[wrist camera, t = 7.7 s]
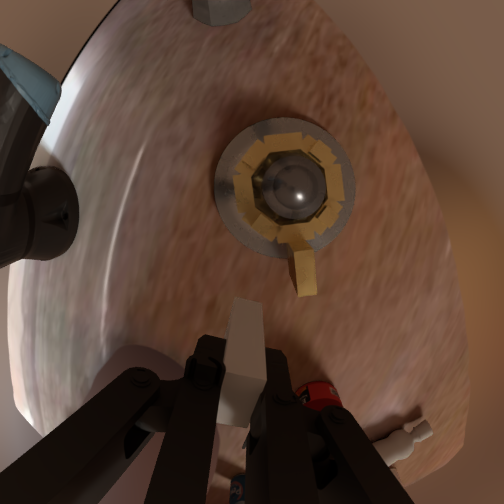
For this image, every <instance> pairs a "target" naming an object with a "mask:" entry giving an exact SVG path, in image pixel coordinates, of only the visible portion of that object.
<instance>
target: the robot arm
mask: <svg viewBox="0 0 504 504" xmlns="http://www.w3.org/2000/svg"><path fill="white" fill-rule="evenodd" d="M61 93H62V89H61V85H60V83H59V81H58V80H57V79H56V78H54V77H53V76H52V75H51V74H49V73H48V72H47V71H45V70H44V69H42V68H41V67H39V66H38V65H36V64H35V63H33V62H32V61H30V60H29V59H27V58H25V57H24V56H22V55H20V54H19V53H17V52H14V51H13V50H11V49H9V48H8V47H6V46H5V45H2V44H0V268H2V267H5V266H7V265H9V264H11V263H14V262H16V261H18V260H21V259H32V260H41V261H47V260H51V259H54V258H56V257H58V256H60V255H62V254H64V253H65V252H66V251H67V250H68V249H69V247H70V246H71V244H72V243H73V241H74V238H75V236H76V233H77V229H78V223H79V204H78V198H77V194H76V191H75V188H74V186H73V184H72V182H71V180H70V179H69V177H68V176H67V175H66V174H65V173H64V172H63V171H62V170H60V169H58V168H56V167H51V166H40V167H36V168H33V169H31V170H29V168H30V165H31V163H32V160H33V157H34V155H35V152H36V150H37V147H38V145H39V143H40V141H41V138H42V136H43V134H44V132H45V130H46V128H47V126H49V124H50V119H51V117H52V114H53V112H54V110H55V108H56V105H57V103H58V101H59V99H60V97H61ZM287 365H288V364H287V358H286V356H285V355H284V354H283V352H282V351H281V350H276V349H271V348H266V347H265V343H264V327H263V312H262V303H259V302H255V301H251V300H247V299H242V298H238V297H235V299H234V302H233V306H232V310H231V314H230V318H229V322H228V325H227V329H226V333H225V337H224V339H222V338H218V337H214V336H210V335H206V334H205V335H203V336H202V337H201V338H199V339H198V342H197V345H196V348H195V351H194V354H193V355H192V356H190V357H189V358H188V359H187V361H186V366H185V373H184V377H183V378H180V379H178V380H172V381H166V380H160V379H159V377H158V376H157V374H156V373H154V372H153V371H151V370H149V369H146V368H141V367H133V368H129V369H127V370H125V371H124V372H123V373H122V374H120V375H119V376H118V377H117V378H116V379H114V380H113V381H112V382H111V383H110V384H108V385H107V386H106V387H105V388H104V389H102V390H101V391H100V392H99V393H98V394H96V395H95V396H94V397H93V398H91V399H90V400H89V401H88V402H87V403H85V404H84V405H83V406H82V407H81V408H79V409H78V410H77V411H76V412H75V413H73V414H72V415H71V416H70V417H68V418H67V419H66V420H65V421H64V422H62V423H61V424H60V425H59V426H58V427H56V428H55V429H54V430H53V431H51V432H50V433H49V434H48V435H47V436H45V437H44V438H43V439H42V440H40V441H39V442H38V443H37V444H35V445H34V446H33V447H32V448H31V449H29V450H28V451H27V452H26V453H24V454H23V455H22V456H21V457H20V458H18V459H17V460H16V461H15V462H13V463H12V464H11V465H10V466H8V467H7V468H6V469H5V470H3V471H2V472H1V473H0V504H98V503H99V502H100V500H101V499H102V498H103V497H104V496H105V494H106V493H107V492H108V491H109V490H110V489H111V487H112V486H113V485H114V484H115V483H116V481H117V480H118V479H119V478H120V477H121V475H122V474H123V473H124V472H125V470H126V469H127V468H128V467H129V466H130V464H131V463H132V462H133V461H134V459H135V458H136V457H137V456H138V454H139V453H140V452H141V451H142V449H143V448H144V447H145V446H146V444H147V443H148V442H149V440H150V439H151V438H152V437H153V436H154V434H155V432H166V433H165V436H164V439H163V442H162V446H161V449H160V452H159V455H158V458H157V461H156V465H155V468H154V471H153V475H152V478H151V481H150V484H149V488H148V491H147V495H146V498H145V501H144V504H205V500H206V493H207V484H208V478H209V470H210V463H211V455H212V448H213V441H214V435H215V428H216V422H217V423H221V424H226V425H232V426H237V427H243V428H247V427H248V425H249V423H250V431H249V433H248V435H247V437H246V440H245V442H244V444H243V447H242V449H245V447H246V474H245V504H414V502H413V501H412V500H411V498H410V497H409V495H408V494H407V492H406V491H405V490H404V488H403V487H402V485H401V484H400V482H399V481H398V480H397V478H396V477H395V475H394V474H393V473H392V471H391V470H390V468H389V467H388V465H387V464H386V463H385V461H384V460H383V458H382V457H381V456H380V454H379V453H378V451H377V450H376V448H375V447H374V446H373V444H372V443H371V441H370V440H369V438H368V437H367V435H366V434H365V433H364V431H363V430H362V428H361V427H360V425H359V424H358V423H357V421H356V420H355V418H354V417H353V415H352V414H351V413H350V412H349V411H348V410H346V409H345V408H343V407H341V406H337V405H328V406H325V407H324V408H323V409H322V410H321V411H317V410H314V409H311V408H309V407H306V406H304V405H302V404H301V401H300V399H299V396H298V395H297V394H295V393H294V392H293V391H292V387H291V381H290V375H289V372H288V371H289V370H288V366H287Z"/></svg>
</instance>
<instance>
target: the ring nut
mask: <svg viewBox="0 0 504 504" xmlns="http://www.w3.org/2000/svg"><path fill="white" fill-rule="evenodd" d="M296 152H297V153H298V154H299V155H301V156H302V157H304V158H307V159H309V160H310V161H312V162H313V163H315V164H316V165H317V166H318V168H319V169H320V170H321V172H322V174H323V176H324V179H325V184H326V192H325V197H324V200H323V202H322V204H321V205H320V207H319V208H318V209H317V210H316V211H315V212H314V213H312V214H311V215H309V216H307V218H306V219H303V220H295V221H287V222H279V223H277V222H276V221H275V220H273V219H272V218H271V217H269V216H268V215H267V214H265V213H264V212H263V211H262V210H260V209H259V208H258V207H256V206H255V201H254V194H253V187H252V180H251V177H252V176H253V175H254V173H255V172H256V171H257V169H258V168H259V167H260V166H261V164H262V163H263V162H264V161H265V159H266V158H267V157H268V155H277V154H286V153H296ZM336 159H337V157H336V156H334V155H333V154H332V153H331V149H330V148H329V147H328V146H327V145H325V144H324V143H323V142H322V141H320V140H318V141H316V140H315V139H314V138H312V137H311V136H310V135H309V134H307V135H306V136H305V137H304V138H303V139H302V133H301V132H296V133H285V134H275V135H266V136H264V137H263V143H262V142H261V141H260V140H258V139H257V140H256V142H255V143H254V144H253V145H252V146H251V147H250V149H249V150H248V151H247V152H246V154H245V155H244V156H243V157H242V159H241V161H240V162H239V163H238V165H237V166H236V167H235V170H236V171H237V172H239V173H240V175H233V183H234V190H235V197H236V203H237V210H238V213H244V212H246V213H245V214H244V215H243V217H242V220H243V221H244V222H246V223H247V224H248V225H250V226H251V228H253V229H254V230H255V231H257V232H258V233H259V234H261V235H262V236H263V237H266V238H267V239H268V240H270V241H271V242H272V241H273V240H274V238H275V237H276V239H277V242H278V244H280V243H286V247H287V256H288V266H289V274H290V277H291V280H292V282H293V285H294V287H295V290H296V293H297V295H298V297H302V296H309V295H315V294H317V286H316V272H315V259H314V249H313V248H312V247H311V246H310V245H309V244H308V243H307V242H306V240H310V239H315V235H314V231H315V232H316V233H318V234H319V235H320V236H321V235H322V233H323V232H324V231H325V229H326V228H327V227H328V228H331V227H332V225H333V224H334V223H335V221H336V220H337V219H338V218H339V215H338V213H339V211H340V210H341V209H342V207H343V206H341V205H340V204H339V203H338V202H337V201H345V198H344V189H343V180H342V172H341V164H333V163H334V161H335V160H336Z"/></svg>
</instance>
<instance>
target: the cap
mask: <svg viewBox="0 0 504 504" xmlns="http://www.w3.org/2000/svg"><path fill="white" fill-rule="evenodd" d="M296 132H301V133H302V139H303V138H304V137H305V136H306V135H307V134H309V135H310V136H311V137H312V138H314V139H315V140H316V141H318V140H320V141H322V142H323V143H324V144H325V145H327V146H328V147H329V148H330V149H331V153H332V154H333V155H334V156H336V157H337V159H336V160H335V161H334V163H333V164H341V172H342V180H343V189H344V198H345V201H337V202H338V203H339V204H340V205H341V206H343V207H342V209H341V210H340V211H339V213H338V215H339V218H338V219H337V220H336V221H335V223H334V224H333V225H332V227H331V228H328V227H327V228H326V229H325V231H324V232H323V233H322V235H321V236H320V235H319V234H318V233H316V232H315V231H314V235H315V239H310V240H306V242H307V243H308V244H309V245H310V246H311V247H312V248H313V249H314V252H316V251H318V250H320V249H321V248H323V247H325V246H326V245H327V244H329V243H330V242H331V241H332V240H333V239H334V238H336V237H337V235H338V234H339V233H340V232H341V231H342V229H343V228H344V226H345V225H346V223H347V221H348V219H349V217H350V215H351V212H352V209H353V205H354V200H355V177H354V173H353V169H352V166H351V163H350V160H349V158H348V156H347V155H346V153H345V151H344V150H343V148H342V147H341V145H340V144H339V143H338V142H337V141H336V140H335V139H334V138H333V137H332V136H331V135H330V134H329V133H328V132H326V131H325V130H323V129H322V128H320V127H319V126H317V125H314V124H312V123H310V122H307V121H304V120H301V119H295V118H285V117H282V118H272V119H267V120H263V121H261V122H258V123H255V124H253V125H251V126H249V127H247V128H246V129H245V130H243V131H242V132H240V133H239V134H238V135H237V136H236V137H235V138H234V139H233V140H232V141H231V142H230V143H229V145H228V146H227V147H226V149H225V150H224V152H223V154H222V156H221V158H220V160H219V162H218V165H217V169H216V173H215V180H214V194H215V201H216V205H217V209H218V211H219V214H220V216H221V218H222V220H223V222H224V224H225V225H226V227H227V228H228V230H229V231H230V232H231V233H232V235H233V236H234V237H235V238H236V239H237V240H238V241H240V242H241V243H242V244H244V245H245V246H246V247H248V248H250V249H252V250H253V251H256V252H258V253H260V254H263V255H266V256H270V257H276V258H288V256H287V247H286V243H280V244H278V242H277V239H276V237H275V238H274V240H273V241H272V242H271V241H270V240H268V239H267V238H266V237H263V236H262V235H261V234H259V233H258V232H257V231H255V230H254V229H253V228H251V226H250V225H248V224H247V223H246V222H244V221H243V220H242V217H243V215H244V214H245V213H246V212H244V213H238V210H237V203H236V197H235V190H234V183H233V175H240V173H239V172H237V171H236V170H235V167H236V166H237V165H238V163H239V162H240V161H241V159H242V157H243V156H244V155H245V154H246V152H247V151H248V150H249V149H250V147H251V146H252V145H253V144H254V143H255V142H256V140H257V139H258V140H260V141H261V142H262V143H263V137H264V136H266V135H275V134H285V133H296ZM251 180H252V187H253V194H254V201H255V206H256V207H258V208H259V209H260V210H262V211H263V212H264V213H265V214H267V215H268V216H269V217H271V218H272V219H273V220H275V221H276V222H277V223H279V222H287V221H295V220H303V219H306V218H307V216H309V215H311V214H312V213H314V212H315V211H316V210H317V209H318V208H319V207H320V205H321V204H322V202H323V200H324V197H325V192H326V184H325V179H324V176H323V174H322V172H321V170H320V169H319V168H318V166H317V165H316V164H315V163H313V162H312V161H310V160H309V159H307V158H304V157H302V156H301V155H299V154H298V153H297V152H296V153H286V154H277V155H268V157H267V158H266V159H265V161H264V162H263V163H262V164H261V166H260V167H259V168H258V169H257V171H256V172H255V173H254V175H253V176H252V177H251Z"/></svg>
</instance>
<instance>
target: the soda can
mask: <svg viewBox="0 0 504 504" xmlns="http://www.w3.org/2000/svg"><path fill="white" fill-rule="evenodd" d="M229 504H245V474H239V475H236V476H235V477H234V478H233V479H232V480H231V486H230V500H229Z"/></svg>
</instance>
